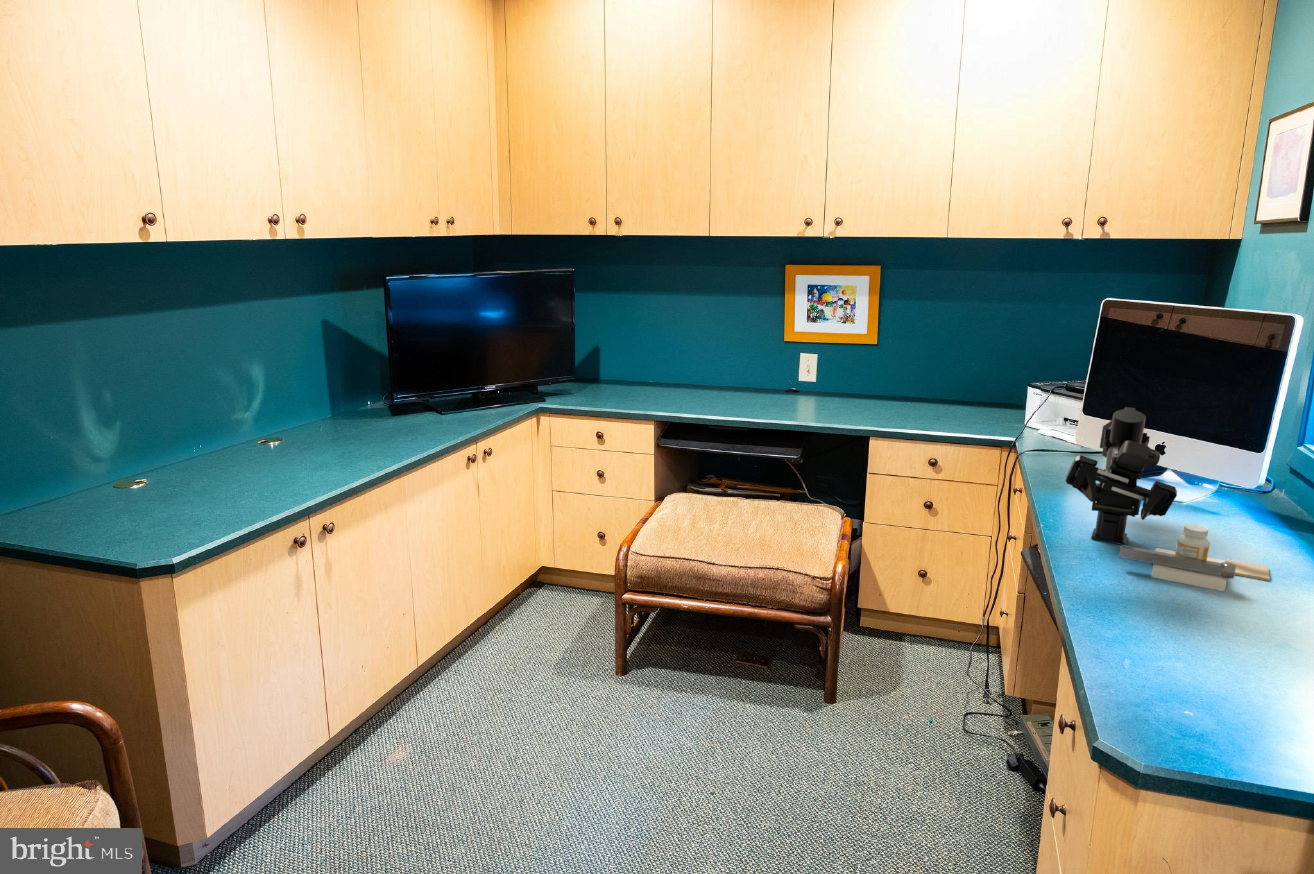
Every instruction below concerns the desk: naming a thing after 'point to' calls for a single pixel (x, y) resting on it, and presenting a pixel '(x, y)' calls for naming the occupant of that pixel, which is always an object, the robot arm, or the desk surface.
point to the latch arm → (1178, 561)
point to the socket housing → (1189, 575)
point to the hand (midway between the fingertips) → (1117, 508)
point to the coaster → (1250, 570)
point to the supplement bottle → (1193, 542)
